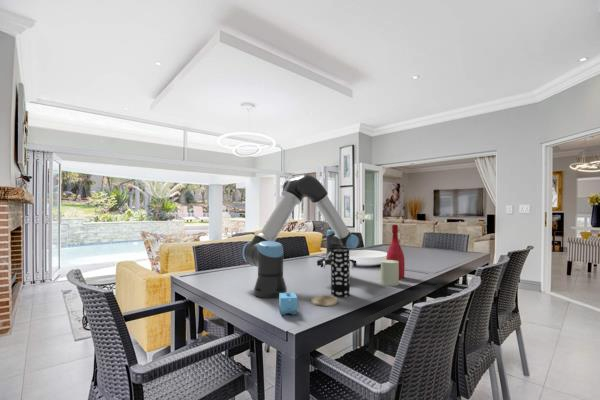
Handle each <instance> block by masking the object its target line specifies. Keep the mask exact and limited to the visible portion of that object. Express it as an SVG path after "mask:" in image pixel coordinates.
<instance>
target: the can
mask: <svg viewBox="0 0 600 400" xmlns="http://www.w3.org/2000/svg"><path fill="white" fill-rule="evenodd" d="M399 280H400V279H399V262H398V261H395V260H386V259H382V260H380V284H381V285H384V286H389V287H390V286H391V287H395V286H399V285H400V281H399Z"/></svg>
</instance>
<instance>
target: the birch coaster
mask: <svg viewBox="0 0 600 400" xmlns="http://www.w3.org/2000/svg"><path fill="white" fill-rule="evenodd" d="M310 303H311V304H312V305H314V306H319V307H331V306H335V305H337V304H338V297H335V296H332V295H325V294H323V295H320V294H319V295H314V296H311V298H310Z"/></svg>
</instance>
